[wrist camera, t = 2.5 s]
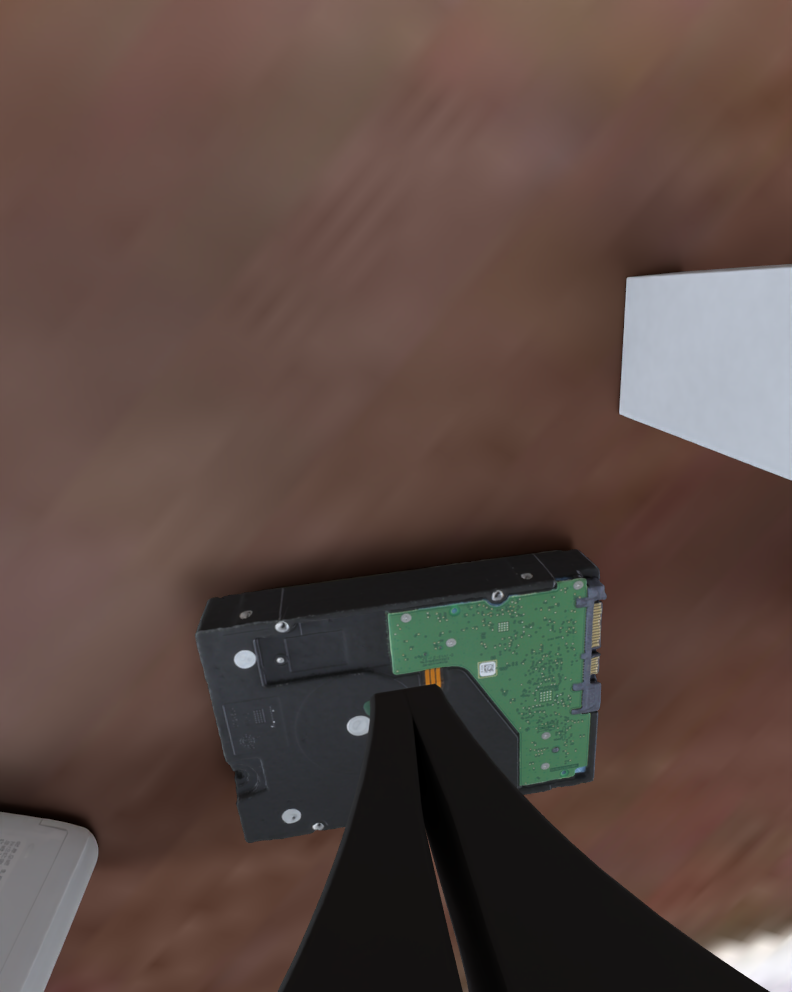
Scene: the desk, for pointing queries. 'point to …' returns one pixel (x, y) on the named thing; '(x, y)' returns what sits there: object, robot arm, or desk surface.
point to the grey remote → (713, 360)
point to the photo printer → (39, 894)
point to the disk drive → (402, 677)
